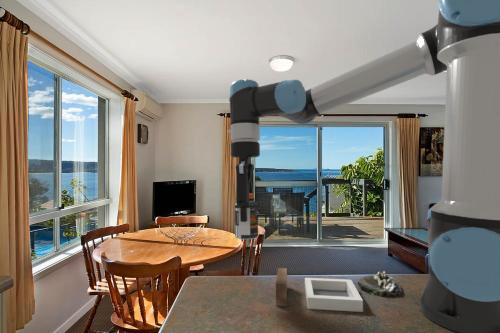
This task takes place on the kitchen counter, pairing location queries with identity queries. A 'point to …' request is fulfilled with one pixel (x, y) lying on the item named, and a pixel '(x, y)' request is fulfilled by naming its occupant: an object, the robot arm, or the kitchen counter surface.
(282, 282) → the door edge
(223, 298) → the kitchen counter surface
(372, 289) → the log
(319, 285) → the plate
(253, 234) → the pill bottle
